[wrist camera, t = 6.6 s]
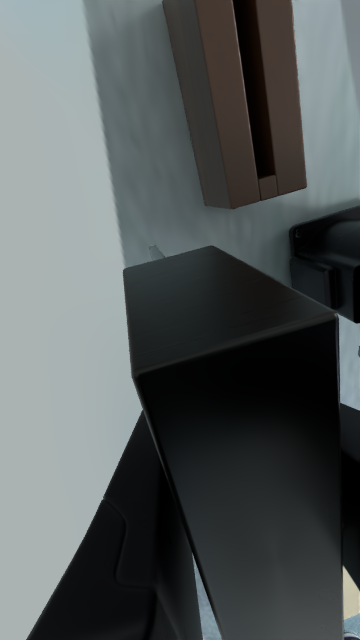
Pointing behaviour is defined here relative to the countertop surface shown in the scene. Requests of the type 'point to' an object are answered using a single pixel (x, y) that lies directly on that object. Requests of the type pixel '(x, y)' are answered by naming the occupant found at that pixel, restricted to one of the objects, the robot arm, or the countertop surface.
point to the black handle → (245, 436)
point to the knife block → (240, 96)
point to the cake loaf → (350, 596)
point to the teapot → (350, 637)
